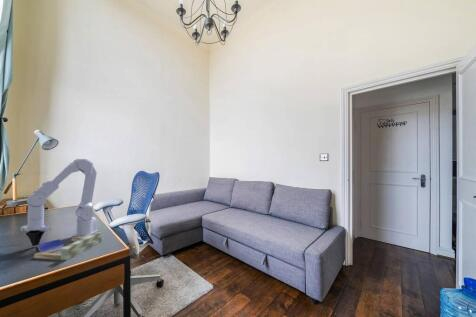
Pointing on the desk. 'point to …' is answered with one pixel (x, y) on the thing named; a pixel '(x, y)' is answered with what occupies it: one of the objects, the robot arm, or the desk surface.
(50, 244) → the hard drive
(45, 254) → the dock
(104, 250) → the desk surface
